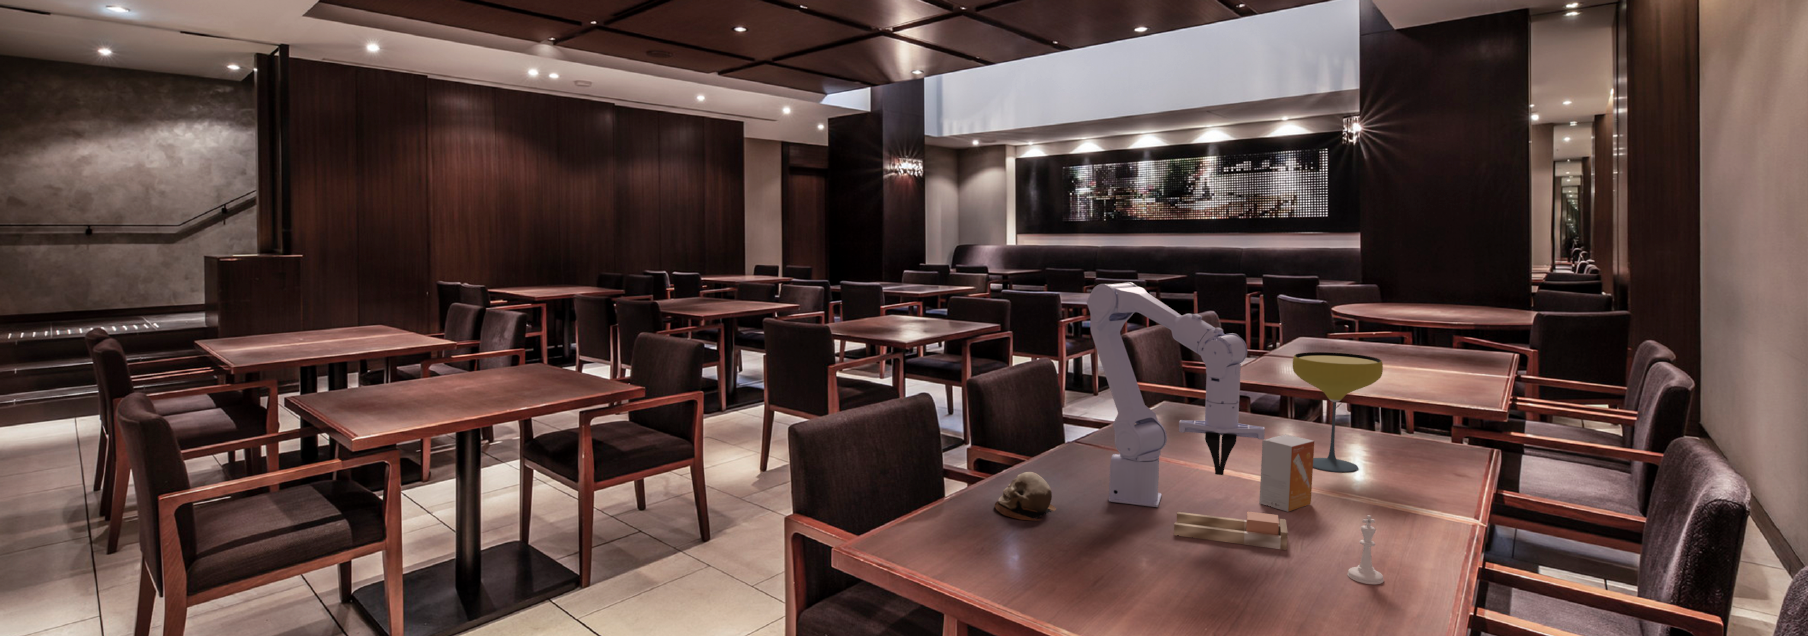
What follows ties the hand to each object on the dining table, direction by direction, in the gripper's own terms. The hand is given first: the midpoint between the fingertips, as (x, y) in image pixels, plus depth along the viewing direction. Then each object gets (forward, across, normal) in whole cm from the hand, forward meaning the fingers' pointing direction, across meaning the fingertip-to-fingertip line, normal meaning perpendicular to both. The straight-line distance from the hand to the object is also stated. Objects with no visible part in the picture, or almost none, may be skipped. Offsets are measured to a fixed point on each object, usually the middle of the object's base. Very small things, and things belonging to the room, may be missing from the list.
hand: (1219, 473), depth 150 cm
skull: (+10, -35, -6) cm, 37 cm away
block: (+9, +7, -6) cm, 13 cm away
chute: (+9, +2, -6) cm, 11 cm away
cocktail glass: (+10, +23, +49) cm, 55 cm away
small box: (+10, +12, +16) cm, 22 cm away
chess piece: (+10, +22, -17) cm, 29 cm away
